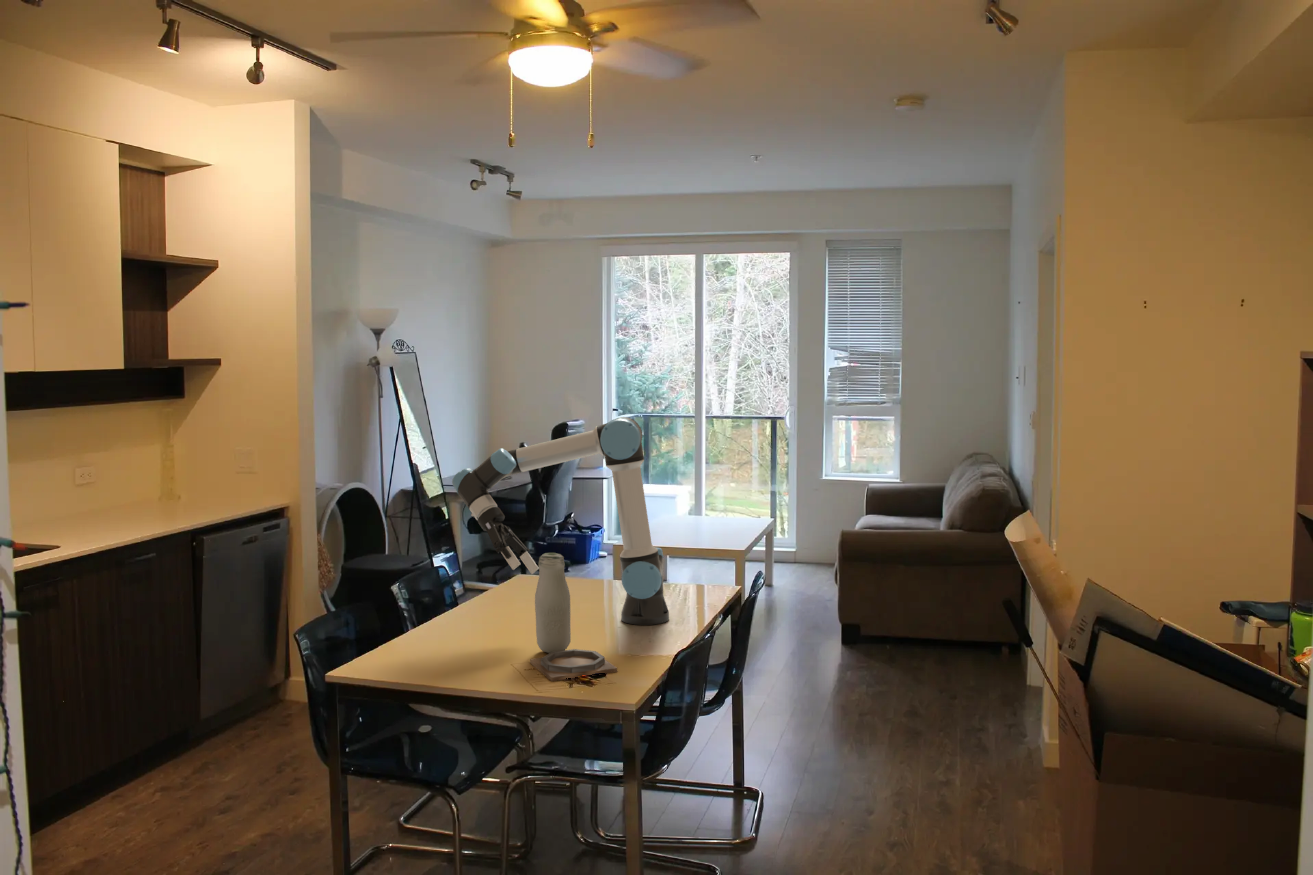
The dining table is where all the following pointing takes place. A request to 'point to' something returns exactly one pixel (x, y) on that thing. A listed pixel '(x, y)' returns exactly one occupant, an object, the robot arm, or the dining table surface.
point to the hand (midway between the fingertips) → (526, 569)
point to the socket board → (572, 664)
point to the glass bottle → (552, 605)
